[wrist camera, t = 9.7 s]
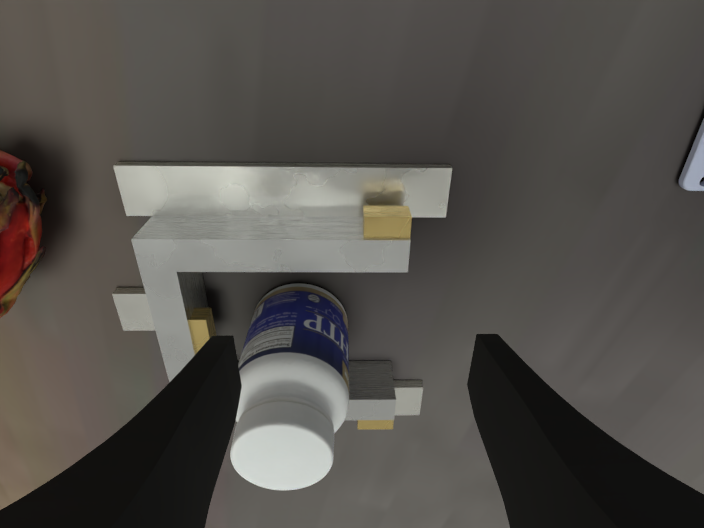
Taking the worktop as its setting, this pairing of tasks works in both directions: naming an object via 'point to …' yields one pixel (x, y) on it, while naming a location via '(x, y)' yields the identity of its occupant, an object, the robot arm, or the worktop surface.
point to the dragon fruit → (18, 228)
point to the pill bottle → (292, 388)
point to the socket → (271, 246)
